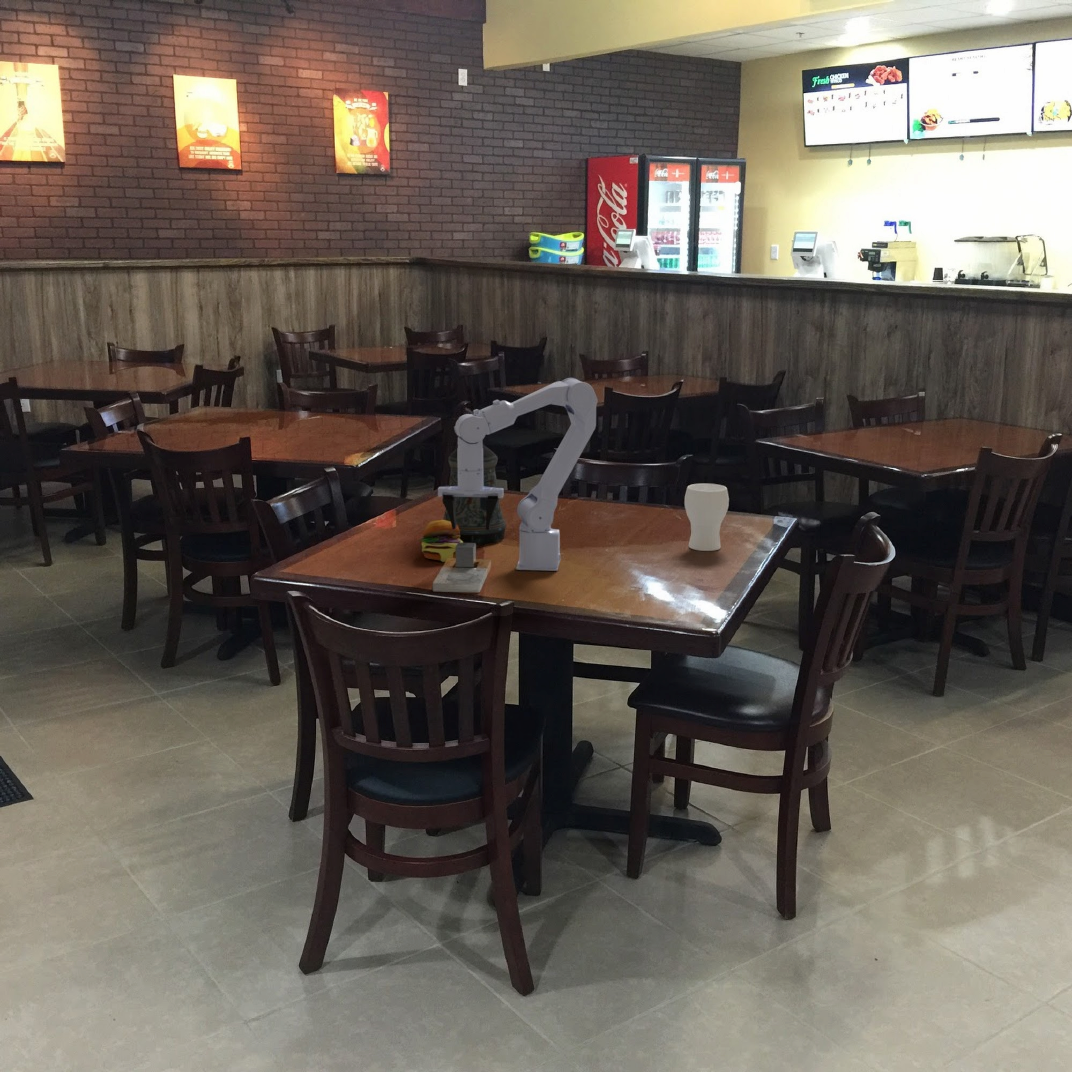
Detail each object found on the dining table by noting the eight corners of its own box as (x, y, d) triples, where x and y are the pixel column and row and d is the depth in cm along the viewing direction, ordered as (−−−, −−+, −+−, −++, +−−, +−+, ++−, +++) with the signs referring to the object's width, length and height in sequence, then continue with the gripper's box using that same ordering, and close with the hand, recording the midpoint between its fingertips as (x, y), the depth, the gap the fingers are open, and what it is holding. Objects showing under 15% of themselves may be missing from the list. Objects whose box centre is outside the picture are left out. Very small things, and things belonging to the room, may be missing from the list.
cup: (725, 554, 271) (728, 492, 267) (681, 551, 273) (683, 490, 269) (727, 543, 281) (730, 483, 277) (684, 540, 283) (686, 482, 280)
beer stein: (477, 549, 275) (476, 447, 269) (418, 536, 286) (416, 439, 280) (519, 535, 288) (519, 438, 281) (461, 524, 299) (460, 430, 293)
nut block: (476, 570, 257) (475, 543, 255) (473, 575, 253) (473, 547, 251) (458, 570, 257) (458, 542, 255) (455, 575, 253) (455, 547, 252)
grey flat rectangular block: (491, 566, 260) (491, 559, 259) (479, 592, 240) (479, 584, 240) (448, 565, 260) (447, 558, 260) (432, 591, 241) (432, 583, 241)
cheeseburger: (425, 564, 261) (422, 521, 261) (418, 563, 271) (415, 522, 271) (468, 560, 264) (465, 518, 264) (459, 559, 274) (456, 518, 274)
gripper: (435, 471, 247) (436, 531, 251) (500, 473, 246) (501, 533, 250) (440, 465, 254) (441, 524, 258) (504, 466, 253) (504, 525, 256)
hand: (471, 528), depth 254 cm, fingers open, 7 cm apart
